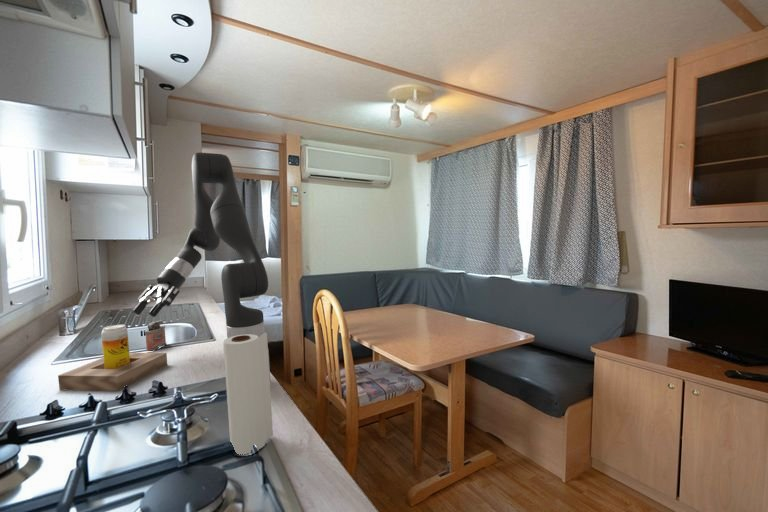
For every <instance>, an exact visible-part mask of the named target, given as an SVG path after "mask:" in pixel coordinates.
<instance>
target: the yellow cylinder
mask: <svg viewBox="0 0 768 512" xmlns="http://www.w3.org/2000/svg"><path fill="white" fill-rule="evenodd" d="M100 335H101V342H102V343H101V344H102V346H101V347H102V356H103V357H102V358H104V368H105V369H118V368H121V367H123V366H125V365H127V364H129V363H130V355H129V353H130V347H129V333H128V328H127V326H126V324H112V325H108V326H104V327H102V330H101V332H100Z"/></svg>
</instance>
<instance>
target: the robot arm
mask: <svg viewBox="0 0 768 512" xmlns="http://www.w3.org/2000/svg"><path fill="white" fill-rule="evenodd" d="M191 180H192V189H193V199H194V219H193V220H194V222H193V223H194V227H192V228H191V229H190V230H189V232H188V235H187V238H186V240H185V242H184V245H183V246H182V248H181V250H180V251H179V252H178V253H177V255H176V256H175V257H174V258H173V259H172V260H171V261H170V262H169V263H168V264H167V265H166V267H164V269H163V270H162V271H161V272H160V273H159V275H158V276H157V277H156V281H157V283H156V285H154V286H153V285H152V284H149V285H148V286H147V287H146V289H145V290H144V291H143V292H142V293H141V294H140V295H139V296H138V298H137V300H138V301H139V302H138V304H136V306H135V307H134V308H133V310H132V313H133V314H135V315H137V316H139V315H141V313H142V312H144V310H145V309H146V307H147V306H148V305H149V304H150V303H154V302H156V303H155V304H154V305H153V306H152V308H151V309H150V310H149V311H148V315H149V316H151V317H152V318H156V317H157V315H158V314H159V313H160V311H161V310H162V309H163V308H165V307H169V306H171V304H172V303H173V302H174V301H175V299H176V298H177V296H178V295H179V293H180V292H181V291H180V288H181V287H182V286H183V284H185V282H186V281H187V280H188V278H189V277H190V275H192V272H193V271H194V269H195V268H196V266H197V265H198V264H199V263H200V261H201V260H202V258H203V257H202V254H201V253H200V251H199V250H197V249H196V248H194V247H197V248H199V249H202V250H204V251H206V252H213V251H215V250H216V249H217V248H218V247H219V246H220V243H221V240H222V241H223V242H224V243H225V244H226V245H227V246H228V247H230V248H232V249H233V251H235V252H236V253H237V254H238V255H239V257H240V258H241V259H242V261H243V262H239V263H237V262H236V263H235V262H234V263H228V264H224V266H223V268H222V270H221V277H220V278H221V286H222V287H221V288H222V295H223V302H224V303H223V304H224V314H225V323H226V325H225V326H226V339H227V338H230V337H233V336H237V335H244V334H252V335H257V336H258V338H259V337H260V336H261V335H262V334H264V333H265V323H264V322H265V321H264V320H265V319H264V318H265V317H264V312H263V311H262V310H261V309H258V308H253V307H249V306H246V305H243V304H241V300H240V299H245V298H253V297H260V296H263V295H264V294H266V293H267V291H268V290H269V278H268V273H267V269H266V267H265V265H264V262H263V260H262V258H261V255H260V253H259V251H258V248H257V246H256V244H255V241H254V239H253V235H252V232H251V228H250V225H249V221H248V218H247V214H246V212H245V208H244V206H243V204H242V201H241V198H240V194H239V192H238V187H237V184H236V179H235V175H234V170H233V166H232V163H231V160H230V158H229V157H228V155H226V154H222V153H213V152H212V153H211V152H210V153H209V152H196V153H194V154H193V156H192V158H191ZM205 184H219V185H220V184H221V185H222V189H221V190H220V193H219V194H218V195H217V196H216V198H215V200H213V199H212V198H211V196H210V195H209V194H208V192H207V190H206V188H205V186H204V185H205ZM269 353H270V352H269V349H268V361H269V362H270V354H269ZM269 377H270V378H271V371H270V366H269Z"/></svg>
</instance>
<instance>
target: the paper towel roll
mask: <svg viewBox="0 0 768 512" xmlns="http://www.w3.org/2000/svg"><path fill="white" fill-rule="evenodd" d="M222 342H223V343H222V345H223V356H224V369H225V370H224V371H225V386H226V401H227V416H228V431H229V432H228V433H229V443H230V442H231V443H232V445H233V447H234V450H235V452H236V453H237V454H239V455H240V454H241V455H242V454H243V455H244V454H247V453H250V452H251V450H252V447H253V445H254V444H255V445H256V446H257V447H260V446H261V445H262V444H263V443H264V442H265V441H266V440H267V439H268V438H269V439H271V437H272V436H274V433H273V432H274V431H273V429H274V428H273V414H272V397H271V395H272V394H271V376H270V377H269V367H270V360H269V361H268V350H269V347H268V332H264V334H262V335H261V336H260V337H259V338H258V336H257V335H252V334H244V335H237V336H233V337H230V338H227V337H226V339H224V340H223V341H222Z"/></svg>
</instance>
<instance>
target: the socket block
mask: <svg viewBox="0 0 768 512" xmlns="http://www.w3.org/2000/svg"><path fill="white" fill-rule="evenodd" d="M129 355H130V363H129V364H127V365H125V366H123V367H121V368H118V369H105V368H104V357H101V358H99V359H96V360H94V361H91V362H89V363H87V364H84V365H81V366H78V367H76V368H74V369H71V370H68V371H67V372H63V373H61V374H58V375H57V377H58V379H57V381H58V388H59V389H66V390H65V391H69V390H70V391H106V392H107V391H109V392H110V391H112V392H118V391H119V392H120V391H121V390H123V389H125V388H124V386H126V385H127V387H129V386H131V385H133V384H134V383H137V382H138V381H140V380H142V379H145V378H146V377H148V376H150V375H152V374H154V373H155V372H157V371H159V370H161V369H164V368H165V367H167V366H168V356H167V352H129Z"/></svg>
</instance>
